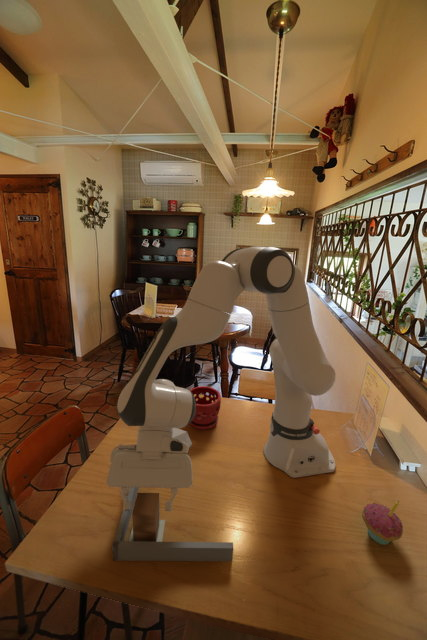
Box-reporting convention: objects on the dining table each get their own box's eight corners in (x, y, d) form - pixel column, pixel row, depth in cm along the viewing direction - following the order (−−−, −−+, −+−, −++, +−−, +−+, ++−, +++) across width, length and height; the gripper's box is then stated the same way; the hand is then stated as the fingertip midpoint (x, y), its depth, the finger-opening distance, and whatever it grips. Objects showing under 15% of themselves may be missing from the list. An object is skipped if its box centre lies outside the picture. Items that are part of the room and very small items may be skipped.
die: (196, 450, 94) (187, 420, 96) (192, 457, 85) (182, 424, 88) (172, 459, 94) (163, 429, 96) (166, 466, 85) (156, 433, 88)
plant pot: (190, 409, 115) (191, 383, 112) (221, 414, 113) (223, 388, 109) (180, 430, 103) (181, 401, 99) (215, 436, 100) (217, 407, 97)
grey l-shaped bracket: (226, 484, 81) (227, 473, 80) (232, 561, 62) (233, 548, 61) (135, 482, 80) (135, 471, 79) (113, 560, 61) (112, 547, 60)
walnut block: (159, 524, 68) (159, 493, 66) (155, 546, 64) (155, 513, 61) (138, 524, 68) (137, 492, 65) (133, 546, 64) (132, 512, 61)
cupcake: (393, 525, 72) (404, 488, 68) (403, 559, 64) (416, 520, 60) (356, 513, 74) (365, 477, 71) (361, 545, 66) (372, 506, 63)
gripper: (109, 443, 68) (97, 512, 61) (193, 444, 68) (190, 512, 62) (116, 445, 73) (105, 508, 67) (194, 446, 74) (191, 509, 67)
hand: (147, 510), depth 64 cm, fingers open, 8 cm apart
